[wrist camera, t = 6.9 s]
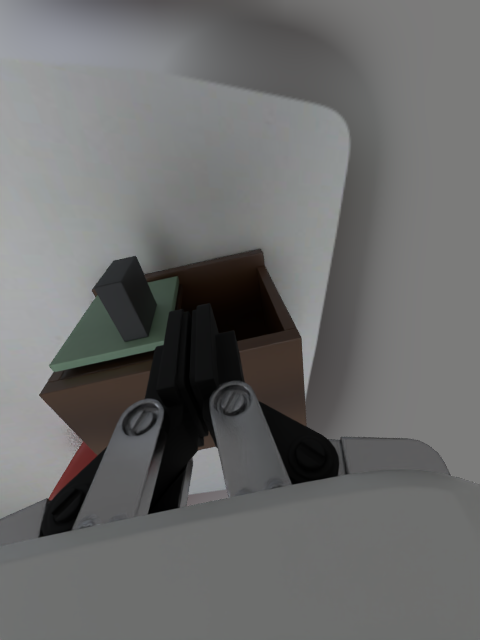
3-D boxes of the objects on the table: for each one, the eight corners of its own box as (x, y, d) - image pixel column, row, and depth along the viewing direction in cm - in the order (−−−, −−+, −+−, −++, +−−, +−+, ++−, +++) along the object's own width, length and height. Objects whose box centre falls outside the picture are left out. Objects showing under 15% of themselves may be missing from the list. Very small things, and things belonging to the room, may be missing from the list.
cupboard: (94, 285, 25) (24, 380, 15) (260, 248, 25) (300, 319, 15) (139, 364, 31) (110, 469, 21) (273, 335, 31) (306, 426, 21)
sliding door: (74, 251, 21) (2, 312, 14) (162, 231, 21) (140, 282, 14) (101, 298, 24) (53, 372, 16) (179, 281, 24) (169, 347, 16)
